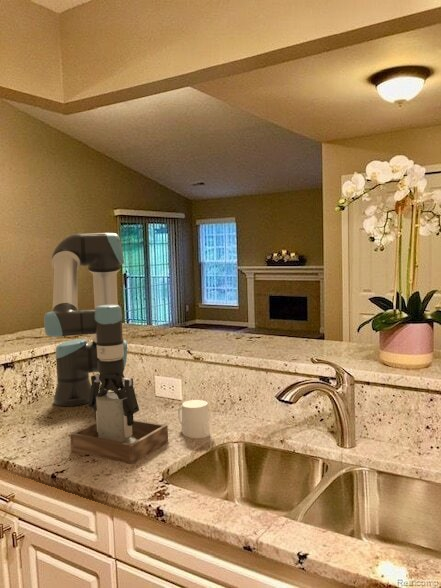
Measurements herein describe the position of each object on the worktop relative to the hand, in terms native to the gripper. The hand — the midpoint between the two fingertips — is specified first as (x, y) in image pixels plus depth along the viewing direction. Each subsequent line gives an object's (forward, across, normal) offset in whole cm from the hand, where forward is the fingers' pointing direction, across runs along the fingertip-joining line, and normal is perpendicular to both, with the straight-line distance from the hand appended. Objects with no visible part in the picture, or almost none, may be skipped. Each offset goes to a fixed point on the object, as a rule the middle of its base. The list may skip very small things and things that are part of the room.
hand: (114, 433), depth 145 cm
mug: (+4, +16, +18) cm, 24 cm away
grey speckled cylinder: (+1, 0, 0) cm, 1 cm away
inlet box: (+3, +2, 0) cm, 4 cm away
